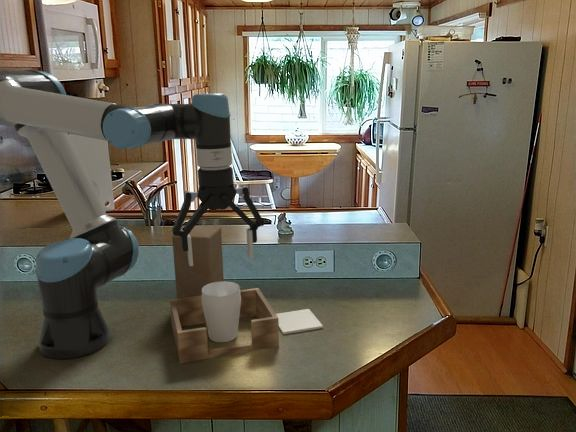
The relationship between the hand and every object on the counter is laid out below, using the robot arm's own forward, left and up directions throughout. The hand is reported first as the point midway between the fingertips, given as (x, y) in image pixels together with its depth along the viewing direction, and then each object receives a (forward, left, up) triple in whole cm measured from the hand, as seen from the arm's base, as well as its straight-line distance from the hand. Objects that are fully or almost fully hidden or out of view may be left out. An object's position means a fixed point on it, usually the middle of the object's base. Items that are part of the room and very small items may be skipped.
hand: (221, 260), depth 118 cm
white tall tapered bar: (-37, +139, -19) cm, 145 cm away
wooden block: (-2, +21, -19) cm, 29 cm away
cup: (0, 0, -19) cm, 19 cm away
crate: (0, 0, -19) cm, 19 cm away
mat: (+18, +1, -19) cm, 26 cm away
